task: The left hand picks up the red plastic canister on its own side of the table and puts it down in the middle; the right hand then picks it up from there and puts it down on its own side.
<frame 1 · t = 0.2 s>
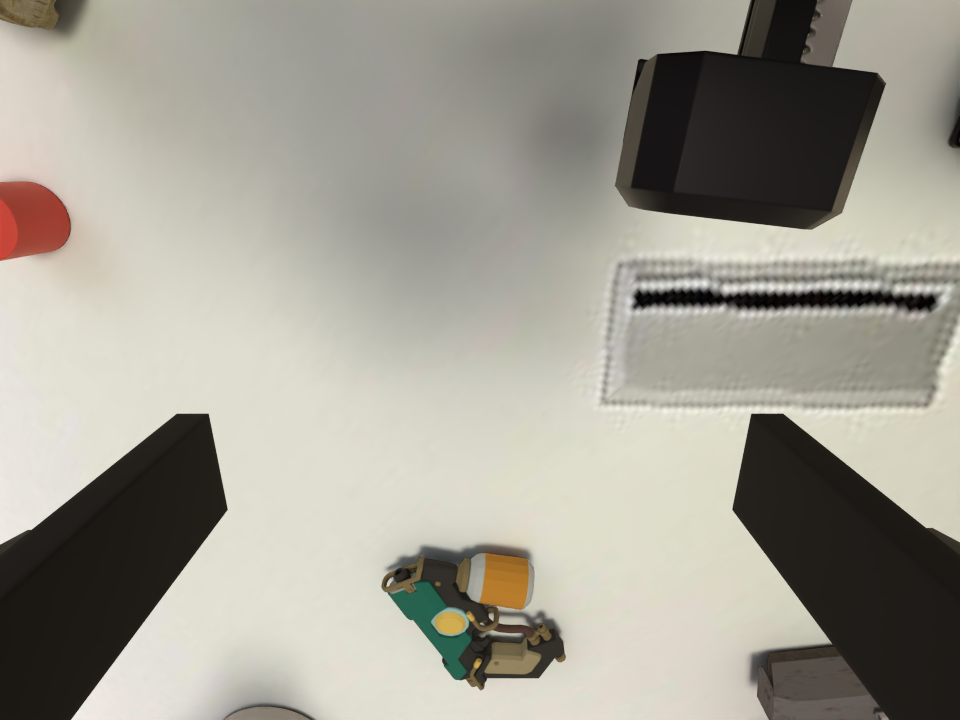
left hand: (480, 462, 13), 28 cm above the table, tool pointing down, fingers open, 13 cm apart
toy: (866, 707, 55), on the table
canister: (35, 217, 38), on the table
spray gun: (477, 606, 50), on the table
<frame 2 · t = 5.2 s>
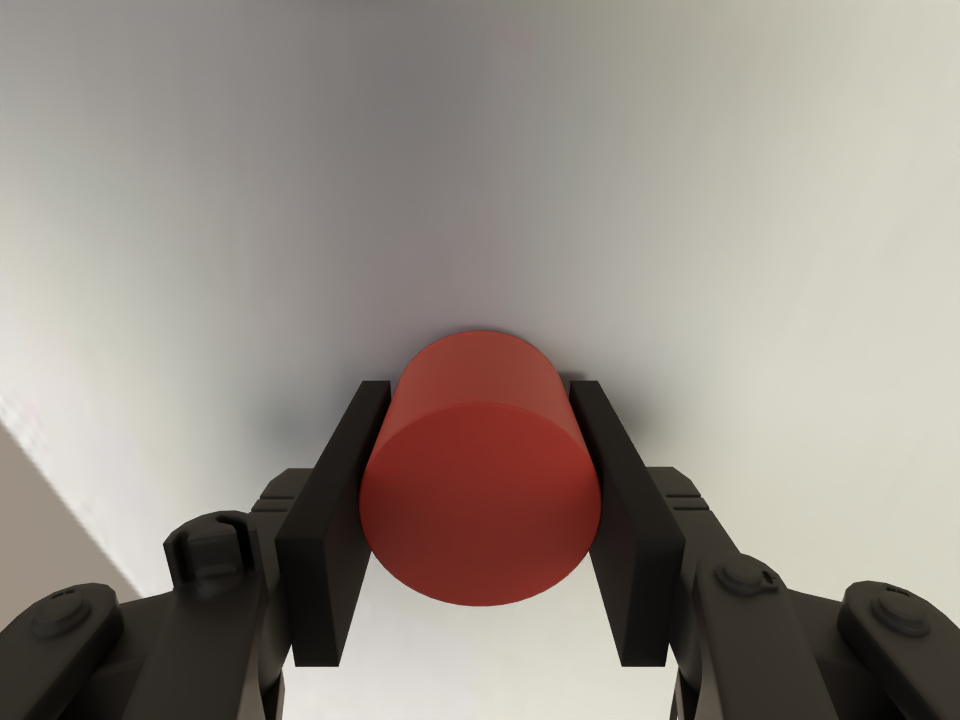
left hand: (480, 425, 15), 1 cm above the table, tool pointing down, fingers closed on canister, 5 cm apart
canister: (480, 412, 15), point 1 cm above the table, touching left hand
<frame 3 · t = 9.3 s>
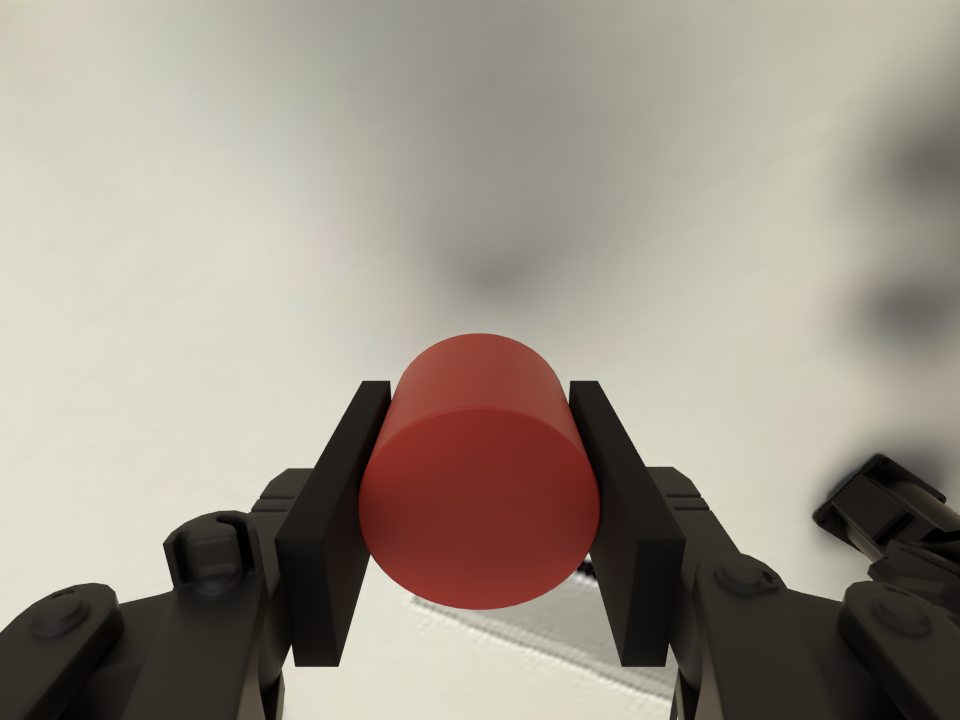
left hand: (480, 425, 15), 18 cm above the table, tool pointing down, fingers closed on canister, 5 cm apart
canister: (479, 415, 15), point 18 cm above the table, touching left hand
when the left hand's fingers open (1 cm above the table, at t = 13.6 s): canister stays where it is, on the table.
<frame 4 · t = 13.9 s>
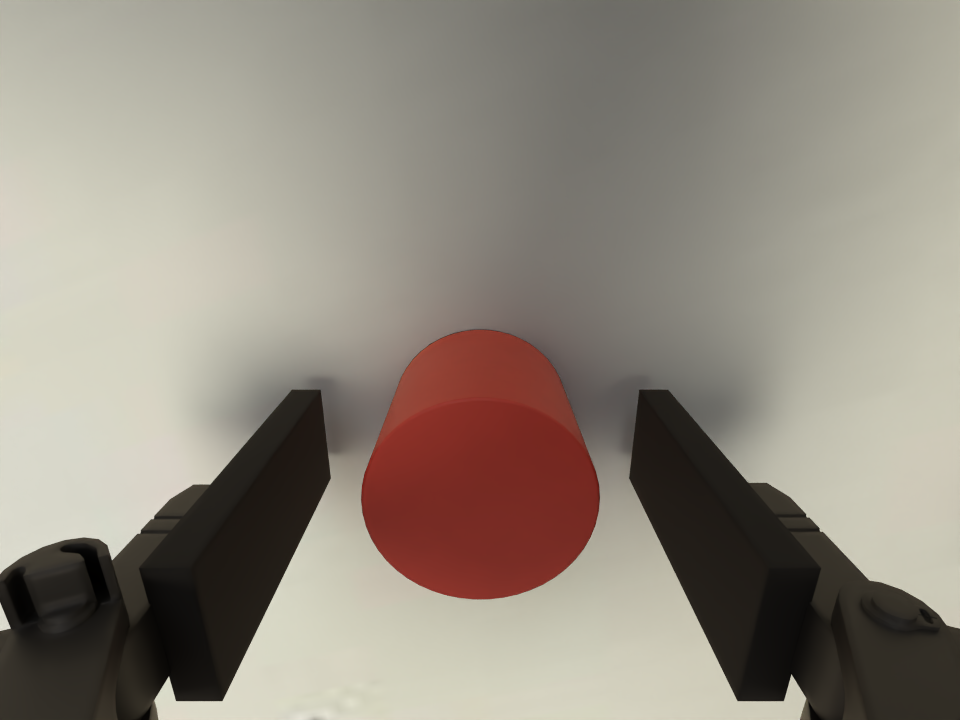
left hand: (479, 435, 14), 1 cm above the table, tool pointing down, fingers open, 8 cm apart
canister: (480, 410, 15), on the table
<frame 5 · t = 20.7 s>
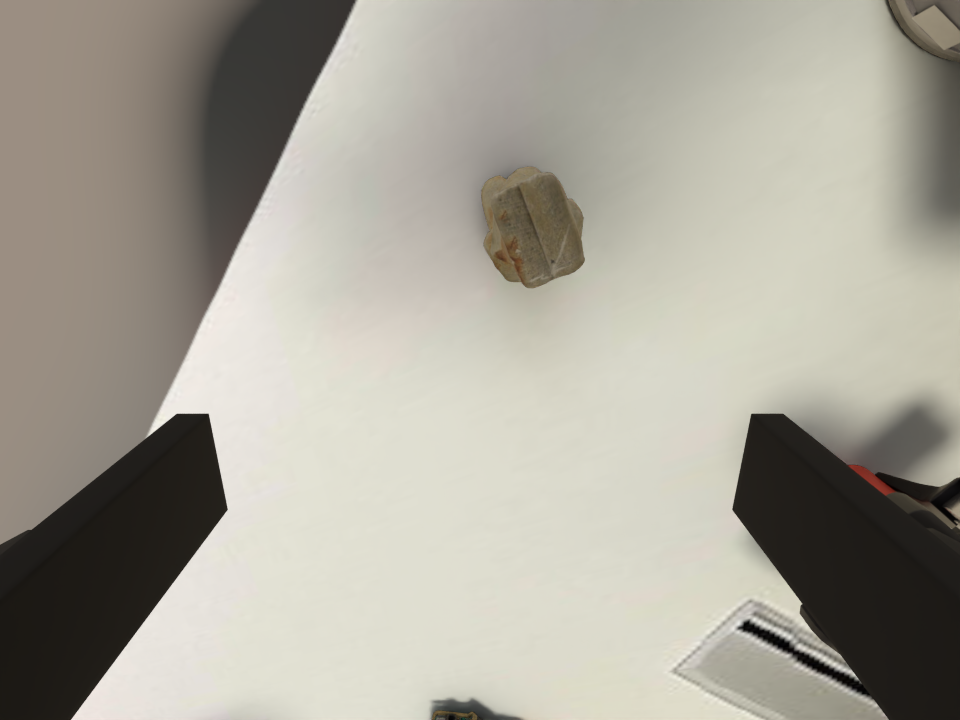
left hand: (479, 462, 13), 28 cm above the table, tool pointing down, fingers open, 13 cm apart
canister: (845, 488, 46), on the table, touching right hand
sculpture: (521, 220, 38), on the table
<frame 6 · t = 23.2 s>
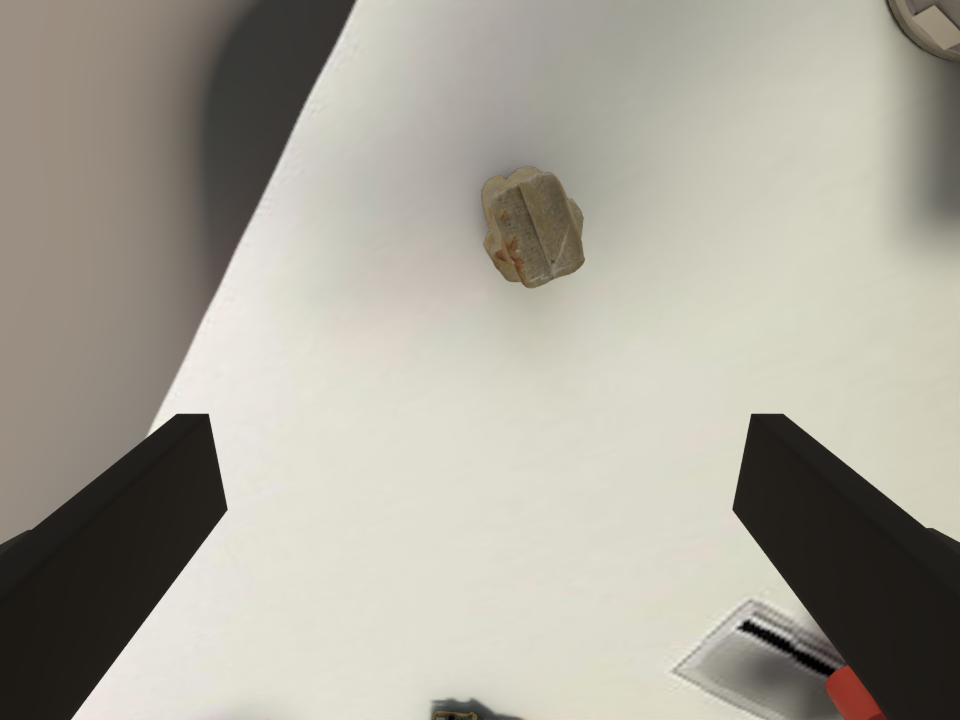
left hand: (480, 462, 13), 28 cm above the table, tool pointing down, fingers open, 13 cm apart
canister: (851, 682, 50), point 3 cm above the table, touching right hand
sculpture: (521, 220, 38), on the table
when the right hand's fingers open (2 cm above the table, at t = 26.1 s): canister stays where it is, on the table.
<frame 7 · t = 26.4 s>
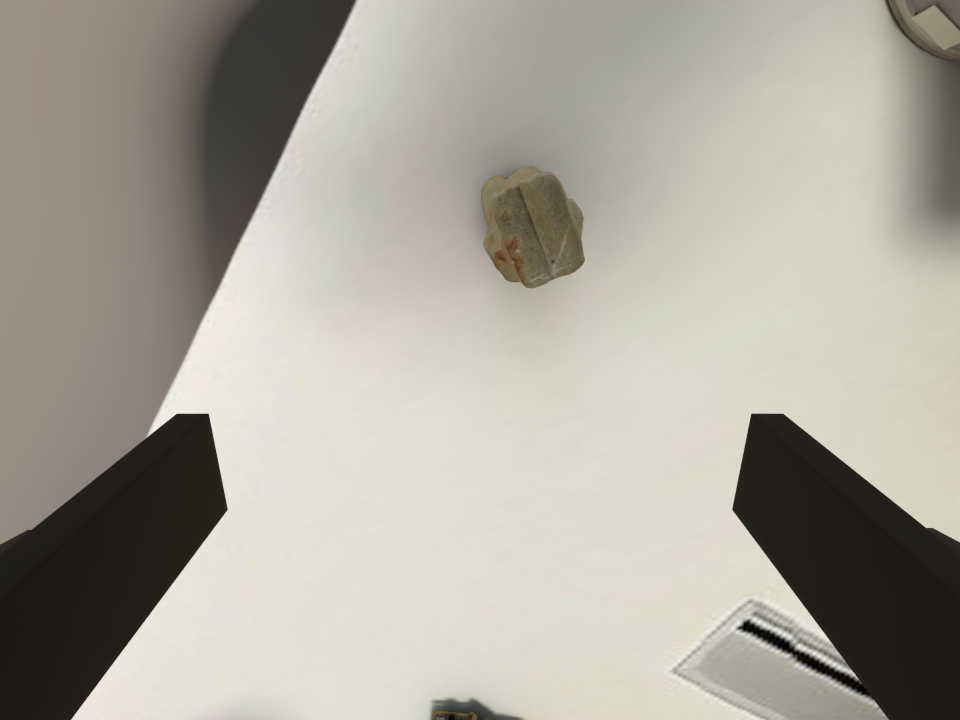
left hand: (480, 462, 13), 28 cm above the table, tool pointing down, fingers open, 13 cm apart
sculpture: (521, 220, 38), on the table
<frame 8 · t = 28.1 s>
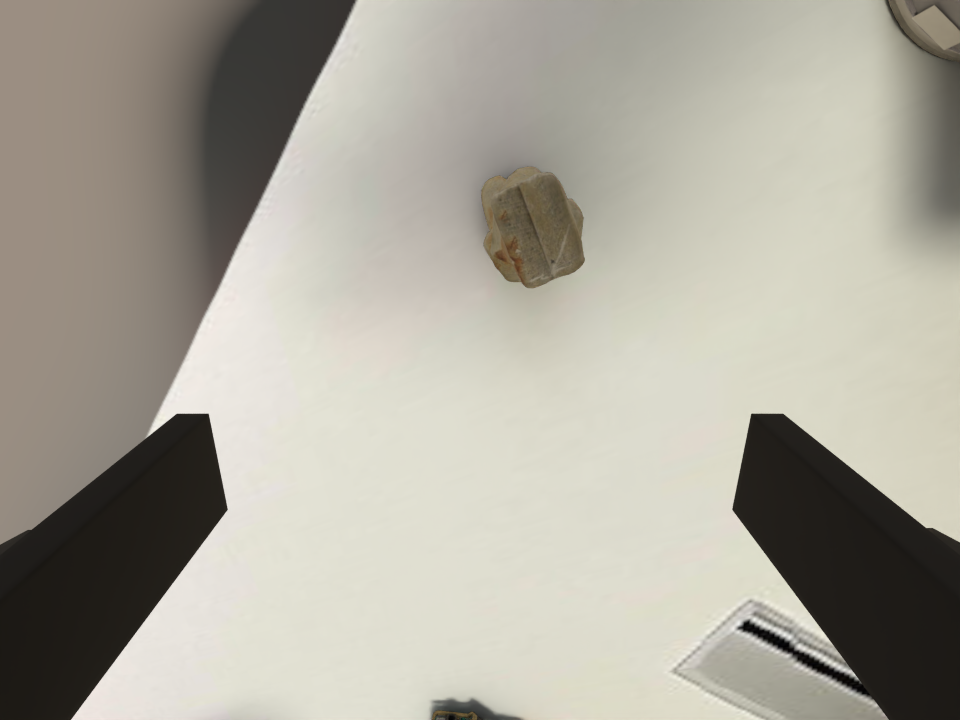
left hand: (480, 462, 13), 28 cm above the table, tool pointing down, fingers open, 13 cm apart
sculpture: (521, 220, 38), on the table
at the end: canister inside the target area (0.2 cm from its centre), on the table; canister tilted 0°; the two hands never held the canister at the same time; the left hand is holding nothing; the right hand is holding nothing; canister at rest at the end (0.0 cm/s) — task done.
